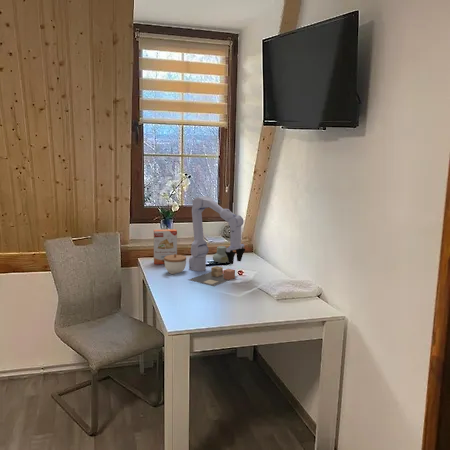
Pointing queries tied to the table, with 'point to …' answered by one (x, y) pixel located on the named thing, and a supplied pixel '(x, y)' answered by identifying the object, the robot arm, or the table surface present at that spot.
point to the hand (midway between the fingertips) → (235, 262)
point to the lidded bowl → (175, 263)
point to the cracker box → (164, 244)
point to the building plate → (210, 279)
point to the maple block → (216, 271)
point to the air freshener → (220, 255)
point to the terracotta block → (229, 274)
